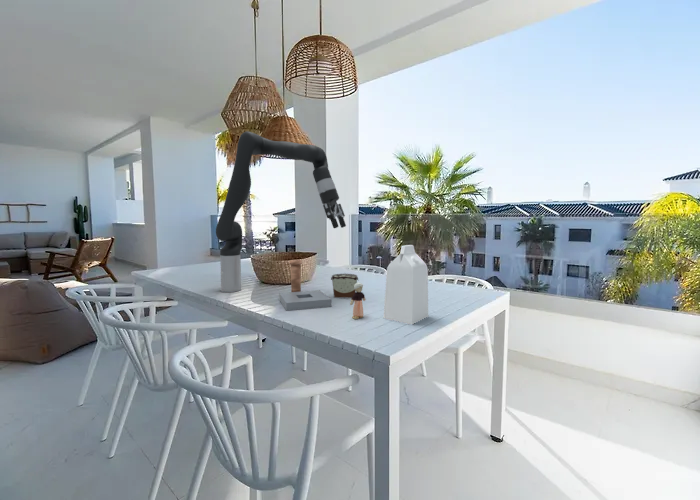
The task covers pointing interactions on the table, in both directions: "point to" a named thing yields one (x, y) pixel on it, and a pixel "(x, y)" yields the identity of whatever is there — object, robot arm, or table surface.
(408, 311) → the milk
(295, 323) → the table surface
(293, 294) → the socket block
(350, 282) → the food container
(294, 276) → the headed peg
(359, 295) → the grandmother figurine
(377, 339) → the table surface
